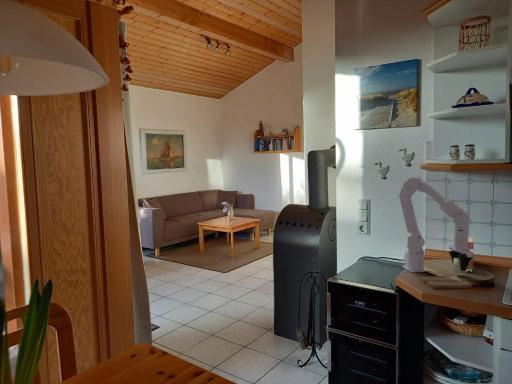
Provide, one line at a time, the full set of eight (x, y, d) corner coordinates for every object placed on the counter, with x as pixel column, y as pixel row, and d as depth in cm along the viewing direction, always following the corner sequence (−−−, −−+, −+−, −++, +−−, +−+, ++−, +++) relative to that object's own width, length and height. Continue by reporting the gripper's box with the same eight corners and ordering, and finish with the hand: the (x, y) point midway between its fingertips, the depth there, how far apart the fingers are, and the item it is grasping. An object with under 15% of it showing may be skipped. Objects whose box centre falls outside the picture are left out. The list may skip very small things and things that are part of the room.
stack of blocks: (473, 273, 178) (474, 246, 177) (457, 271, 181) (458, 245, 180) (472, 261, 197) (472, 237, 196) (458, 259, 200) (458, 236, 199)
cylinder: (451, 270, 177) (451, 257, 176) (461, 270, 177) (462, 257, 176) (457, 273, 172) (457, 260, 171) (468, 273, 172) (468, 260, 171)
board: (419, 279, 170) (419, 277, 170) (455, 278, 171) (455, 275, 171) (434, 289, 158) (434, 286, 158) (472, 287, 159) (472, 284, 159)
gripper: (479, 242, 166) (478, 273, 167) (459, 235, 180) (458, 263, 182) (464, 242, 165) (462, 274, 167) (445, 235, 180) (444, 264, 181)
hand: (459, 268), depth 174 cm, fingers closed on cylinder, 5 cm apart
